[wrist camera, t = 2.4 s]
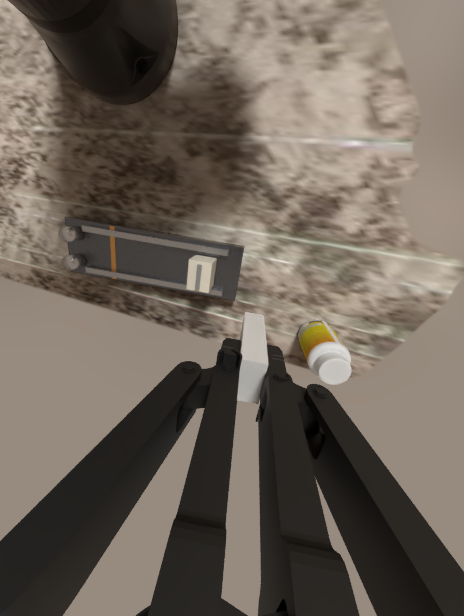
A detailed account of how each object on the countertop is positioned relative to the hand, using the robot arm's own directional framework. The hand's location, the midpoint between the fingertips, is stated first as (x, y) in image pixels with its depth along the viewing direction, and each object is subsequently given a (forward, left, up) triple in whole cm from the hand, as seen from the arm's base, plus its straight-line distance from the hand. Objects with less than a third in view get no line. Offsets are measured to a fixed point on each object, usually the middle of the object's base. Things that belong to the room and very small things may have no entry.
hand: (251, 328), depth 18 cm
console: (0, -15, -18) cm, 24 cm away
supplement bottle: (+8, +12, -18) cm, 23 cm away
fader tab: (0, -7, -16) cm, 17 cm away
